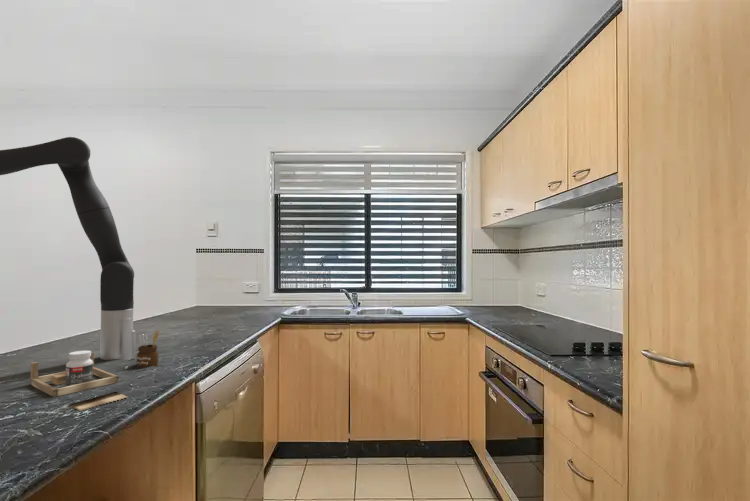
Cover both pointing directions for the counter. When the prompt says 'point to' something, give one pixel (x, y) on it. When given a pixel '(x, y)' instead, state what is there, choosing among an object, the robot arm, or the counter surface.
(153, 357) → the utensil holder
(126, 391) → the counter surface
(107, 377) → the rack
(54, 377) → the offcut top
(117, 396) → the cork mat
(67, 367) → the pill bottle
